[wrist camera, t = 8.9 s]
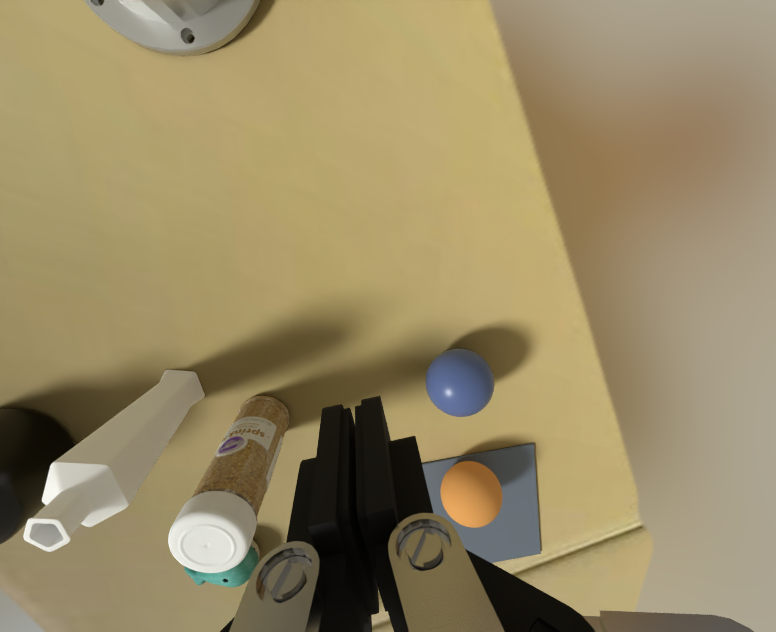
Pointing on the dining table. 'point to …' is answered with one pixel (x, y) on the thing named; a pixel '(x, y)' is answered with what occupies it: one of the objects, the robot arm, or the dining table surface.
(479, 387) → the blue ball
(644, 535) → the dining table surface
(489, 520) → the orange ball
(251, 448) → the sprinkles bottle
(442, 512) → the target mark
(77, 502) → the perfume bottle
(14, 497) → the ink bottle
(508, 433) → the dining table surface
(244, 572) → the whale figurine
